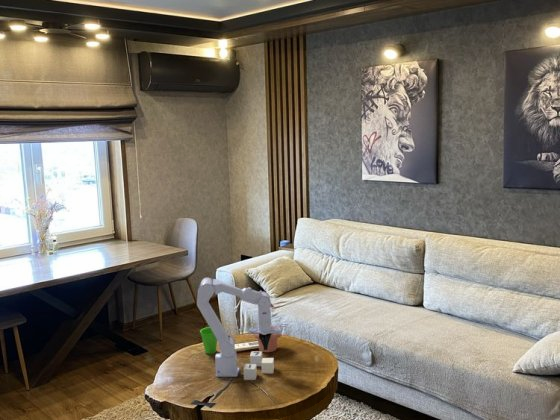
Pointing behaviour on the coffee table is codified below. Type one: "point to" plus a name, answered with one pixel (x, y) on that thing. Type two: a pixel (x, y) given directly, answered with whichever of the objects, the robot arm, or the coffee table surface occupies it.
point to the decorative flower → (272, 342)
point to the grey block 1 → (250, 372)
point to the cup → (209, 340)
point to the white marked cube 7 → (256, 357)
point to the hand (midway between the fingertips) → (265, 349)
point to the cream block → (267, 365)
